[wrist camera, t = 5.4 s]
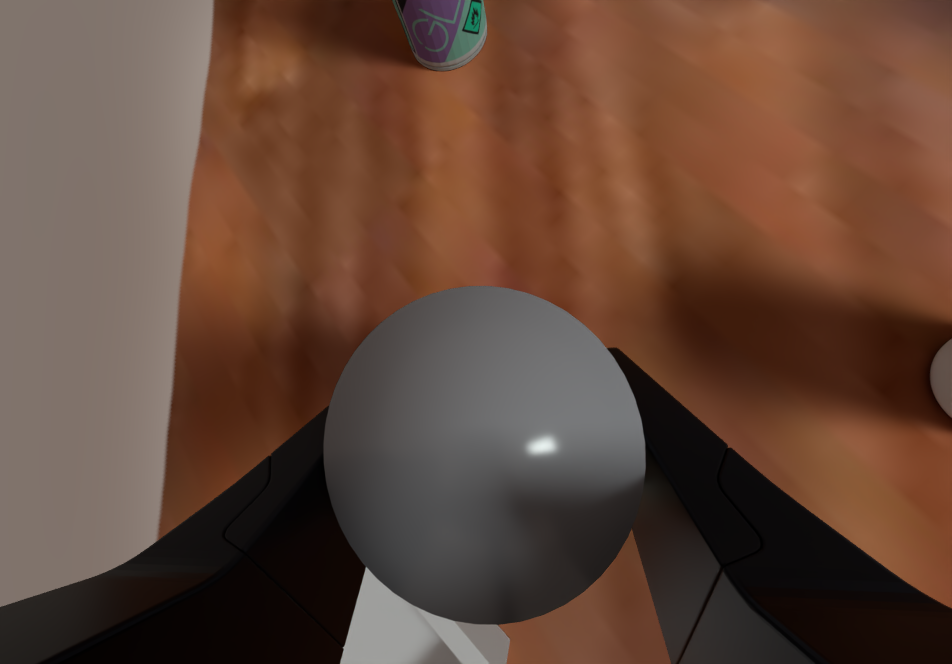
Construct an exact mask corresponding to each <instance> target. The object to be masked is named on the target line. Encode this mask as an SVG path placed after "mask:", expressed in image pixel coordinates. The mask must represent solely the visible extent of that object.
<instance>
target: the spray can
mask: <svg viewBox="0 0 952 664" xmlns="http://www.w3.org/2000/svg"><path fill="white" fill-rule="evenodd" d="M392 1H393V3H394V6H395V9H396V11H397V14H398V16H399V19H400V21H401V24H402V26H403V29H404V32H405V34H406V37H407V39H408V42H409V44H410V47H411V49H412V52H413V53H414V56H415V57H416V59H417V60H418V62H420V63H421V64H422V65H423V66H425V67H427V68H429V69H432V70H436V71H447V70H452V69H456V68H459V67H461V66H463V65H465V64H466V63H468V62H469V61H471V60H472V59H473V58H474V57H475V56H476V55H477V54H478V53H479V51H480V50H481V48H482V47H483V45H484V42H485V40H486V36H487V24H486V15H485V9H484V3H483V0H392Z"/></svg>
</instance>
